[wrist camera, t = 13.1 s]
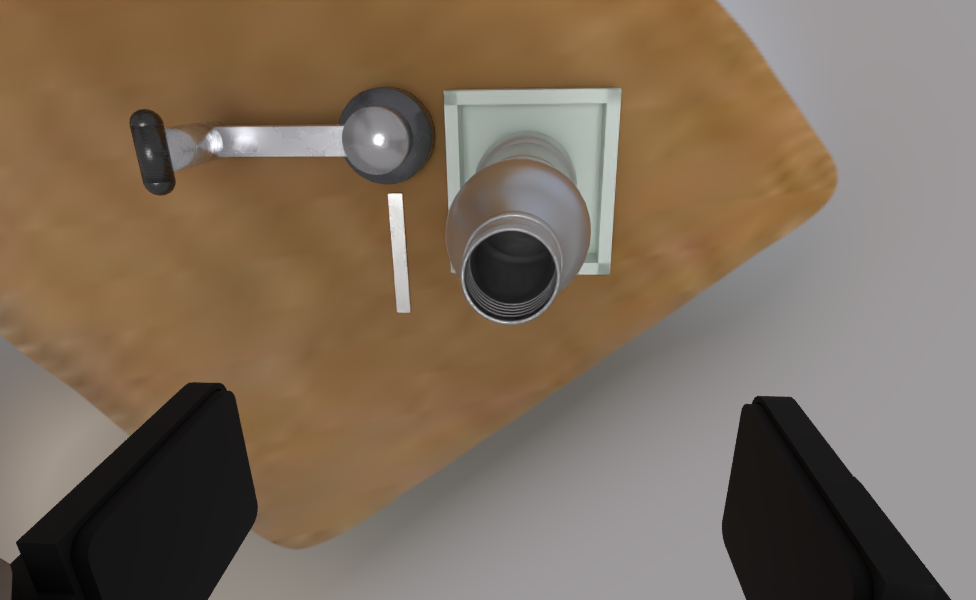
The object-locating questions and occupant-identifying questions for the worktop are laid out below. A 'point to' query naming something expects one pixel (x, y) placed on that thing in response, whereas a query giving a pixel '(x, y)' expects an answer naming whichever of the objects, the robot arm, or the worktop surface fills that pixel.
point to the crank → (268, 143)
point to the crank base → (398, 170)
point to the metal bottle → (518, 228)
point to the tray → (558, 114)
